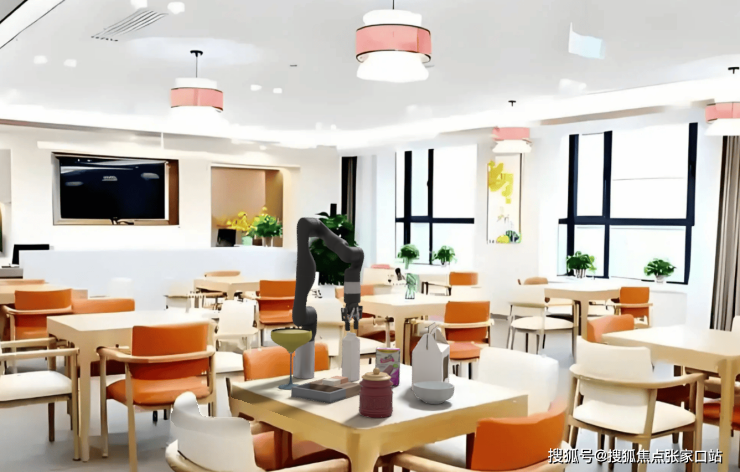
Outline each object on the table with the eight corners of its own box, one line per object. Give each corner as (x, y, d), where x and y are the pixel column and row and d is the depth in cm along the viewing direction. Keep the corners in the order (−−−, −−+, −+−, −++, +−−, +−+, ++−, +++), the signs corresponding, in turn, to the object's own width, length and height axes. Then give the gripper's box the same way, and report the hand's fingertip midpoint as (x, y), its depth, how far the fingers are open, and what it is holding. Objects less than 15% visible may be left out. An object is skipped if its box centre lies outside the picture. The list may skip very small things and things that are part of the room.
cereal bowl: (462, 403, 297) (462, 386, 297) (429, 408, 288) (429, 390, 288) (437, 395, 312) (437, 378, 312) (405, 399, 303) (405, 382, 303)
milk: (350, 381, 337) (351, 334, 337) (341, 379, 341) (341, 332, 341) (359, 379, 342) (360, 332, 341) (350, 377, 346) (351, 331, 345)
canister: (372, 420, 270) (372, 372, 269) (352, 412, 280) (352, 366, 280) (399, 415, 277) (400, 368, 277) (379, 408, 288) (379, 363, 288)
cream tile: (322, 384, 312) (322, 379, 312) (329, 382, 316) (329, 377, 316) (333, 386, 308) (333, 381, 308) (340, 384, 312) (340, 379, 312)
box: (291, 396, 305) (291, 387, 305) (307, 391, 315) (307, 382, 315) (329, 403, 294) (329, 393, 294) (345, 398, 304) (345, 388, 304)
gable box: (441, 392, 317) (442, 328, 316) (411, 390, 320) (412, 326, 320) (449, 382, 338) (450, 322, 338) (421, 380, 342) (422, 320, 341)
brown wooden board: (307, 391, 315) (307, 382, 315) (324, 387, 325) (324, 378, 325) (345, 398, 304) (345, 388, 304) (362, 393, 314) (362, 383, 314)
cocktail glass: (263, 389, 317) (264, 332, 317) (279, 381, 335) (280, 327, 335) (302, 392, 313) (303, 334, 312) (316, 384, 330) (317, 329, 330)
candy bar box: (374, 385, 331) (375, 348, 330) (375, 382, 336) (376, 347, 335) (399, 385, 329) (399, 349, 329) (400, 383, 334) (400, 347, 334)
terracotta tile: (330, 382, 316) (330, 377, 316) (336, 380, 320) (336, 375, 320) (341, 384, 313) (341, 379, 313) (348, 382, 317) (348, 377, 317)
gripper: (354, 290, 332) (354, 327, 332) (335, 292, 320) (335, 331, 320) (368, 291, 328) (367, 329, 328) (349, 293, 316) (349, 332, 316)
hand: (351, 329), depth 324 cm, fingers open, 5 cm apart
